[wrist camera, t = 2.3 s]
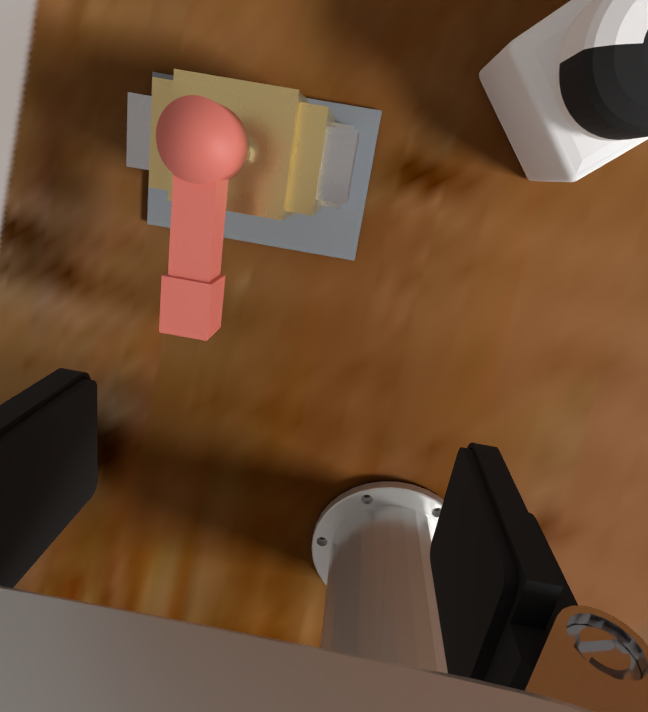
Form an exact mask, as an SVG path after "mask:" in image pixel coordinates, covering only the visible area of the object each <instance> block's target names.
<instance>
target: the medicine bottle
mask: <svg viewBox="0 0 648 712" xmlns="http://www.w3.org/2000/svg"><path fill="white" fill-rule="evenodd" d="M479 79H480V81H481V83H482V85H483V87H484V90H485V92H486V94H487V96H488V98H489V100H490V102H491V104H492V106H493V108H494V110H495V112H496V114H497V116H498V119H499V121H500V123H501V125H502V127H503V129H504V131H505V133H506V135H507V137H508V139H509V141H510V143H511V146H512V148H513V150H514V152H515V154H516V156H517V158H518V160H519V162H520V164H521V166H522V168H523V170H524V173H525V175H526V177H527V178H528V179H529V180H531V181H554V182H574V181H577V180H579V179H580V178H582V177H584V176H586V175H587V174H589V173H591V172H592V171H594V170H596V169H598V168H599V167H601V166H603V165H604V164H606V163H608V162H609V161H611V160H613V159H615V158H616V157H618V156H620V155H621V154H623V153H625V152H627V151H628V150H630V149H632V148H633V147H635V146H637V145H639V144H640V143H642V142H644V141H645V140H647V139H648V0H571V1H569V2H568V3H566V4H565V5H563V6H562V7H560V8H559V9H557V10H556V11H554V12H553V13H552V14H550V15H549V16H547V17H546V18H544V19H543V20H541V21H540V22H538V23H537V24H535V25H534V26H532V27H531V28H530V29H528V30H527V31H525V32H524V33H522V34H521V35H519V36H518V37H516V38H515V39H513V40H512V41H511V42H510V43H509V44H508V45H507V46H506V47H505V48H504V49H502V50H501V51H500V52H499V53H498V54H497V55H496V56H495V57H494V58H493V59H492V60H491V61H490V62H489V63H488V64H487V65H486V66H484V67H483V68H482V69H481V71H480V72H479Z"/></svg>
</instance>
